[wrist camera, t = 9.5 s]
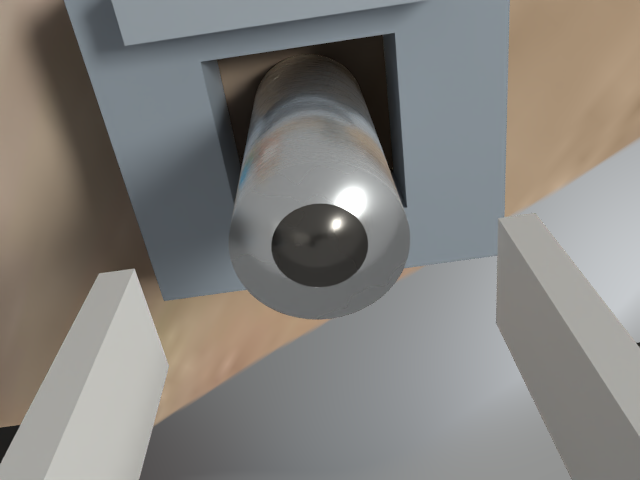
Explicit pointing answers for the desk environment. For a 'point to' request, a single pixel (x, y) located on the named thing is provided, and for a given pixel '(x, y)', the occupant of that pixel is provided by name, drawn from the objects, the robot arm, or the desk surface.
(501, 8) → the frame
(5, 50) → the desk surface
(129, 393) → the robot arm
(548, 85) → the desk surface
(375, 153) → the bushing
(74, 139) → the desk surface
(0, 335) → the desk surface
